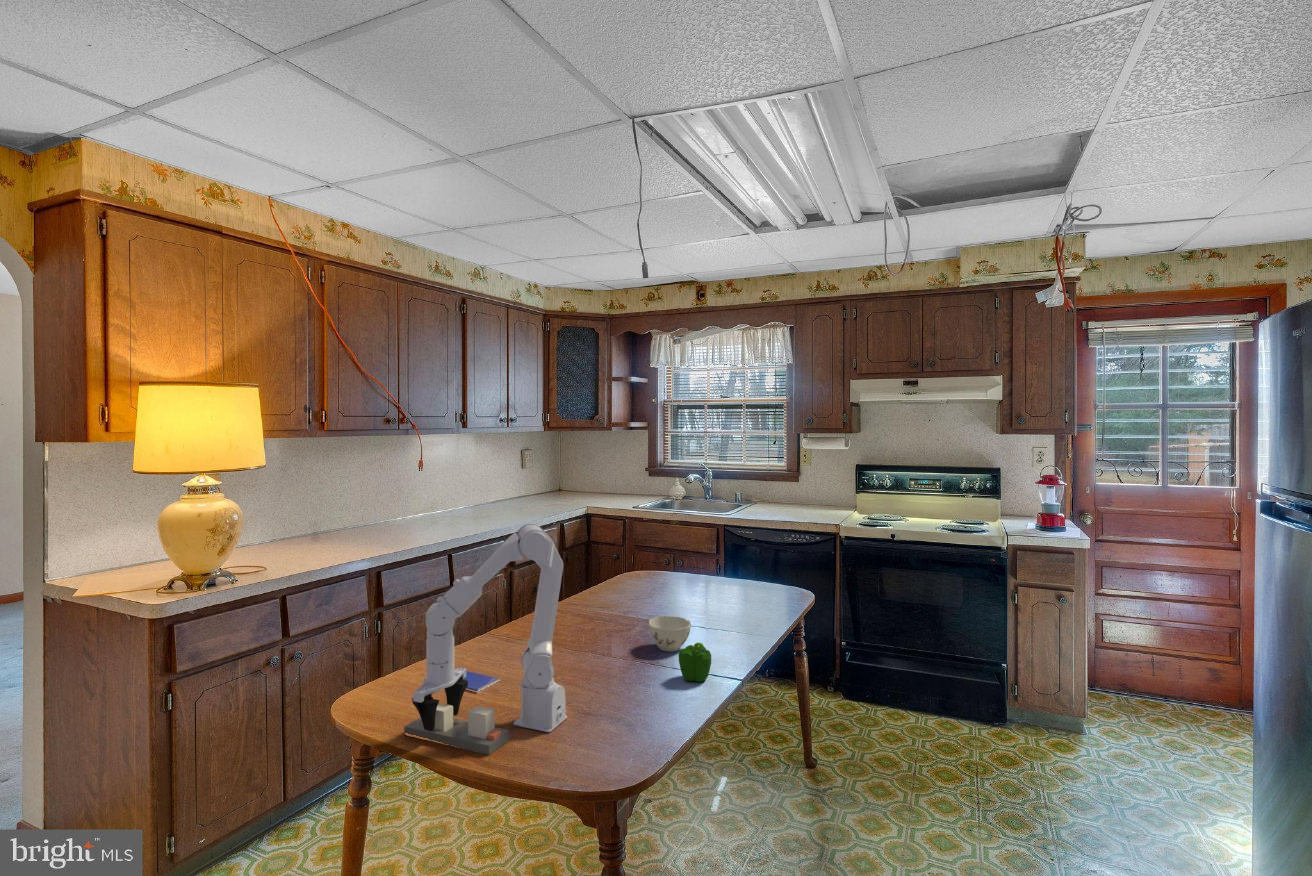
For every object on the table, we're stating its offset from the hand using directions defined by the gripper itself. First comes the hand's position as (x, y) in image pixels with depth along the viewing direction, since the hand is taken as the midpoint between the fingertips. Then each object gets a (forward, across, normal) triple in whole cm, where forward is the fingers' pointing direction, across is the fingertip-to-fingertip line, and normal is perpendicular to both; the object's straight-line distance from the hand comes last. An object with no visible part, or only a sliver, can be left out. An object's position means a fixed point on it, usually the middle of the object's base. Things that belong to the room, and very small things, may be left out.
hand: (441, 721), depth 142 cm
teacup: (+3, -69, +27) cm, 74 cm away
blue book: (+3, -25, -12) cm, 28 cm away
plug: (+3, 0, 0) cm, 3 cm away
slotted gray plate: (+3, 0, +4) cm, 5 cm away
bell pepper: (+3, -49, +41) cm, 64 cm away
